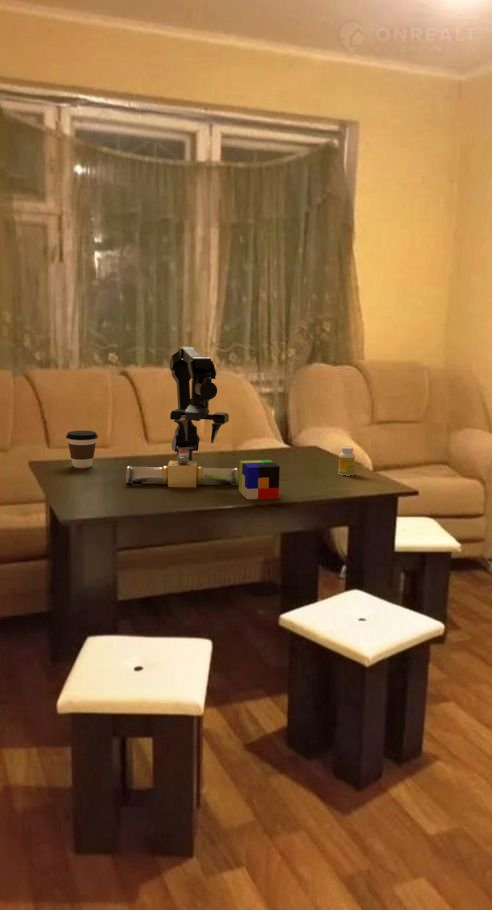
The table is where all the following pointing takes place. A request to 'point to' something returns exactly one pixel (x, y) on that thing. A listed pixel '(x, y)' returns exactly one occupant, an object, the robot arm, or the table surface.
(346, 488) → the table surface
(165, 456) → the table surface
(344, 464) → the supplement bottle
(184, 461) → the lever
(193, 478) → the valve
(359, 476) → the table surface
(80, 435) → the coffee cup
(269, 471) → the puzzle toy
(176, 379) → the robot arm
